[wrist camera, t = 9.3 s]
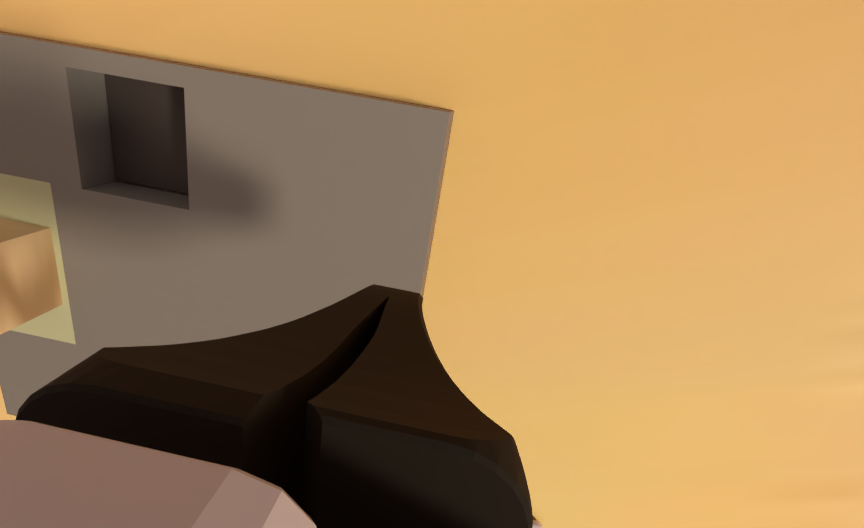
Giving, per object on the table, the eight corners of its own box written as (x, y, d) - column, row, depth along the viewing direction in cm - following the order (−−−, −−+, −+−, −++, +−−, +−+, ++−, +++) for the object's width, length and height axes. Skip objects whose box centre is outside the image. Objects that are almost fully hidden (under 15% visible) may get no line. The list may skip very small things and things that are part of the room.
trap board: (393, 471, 26) (385, 500, 24) (40, 391, 27) (7, 413, 25) (453, 110, 19) (449, 112, 17) (-34, 25, 20) (-89, 18, 18)
